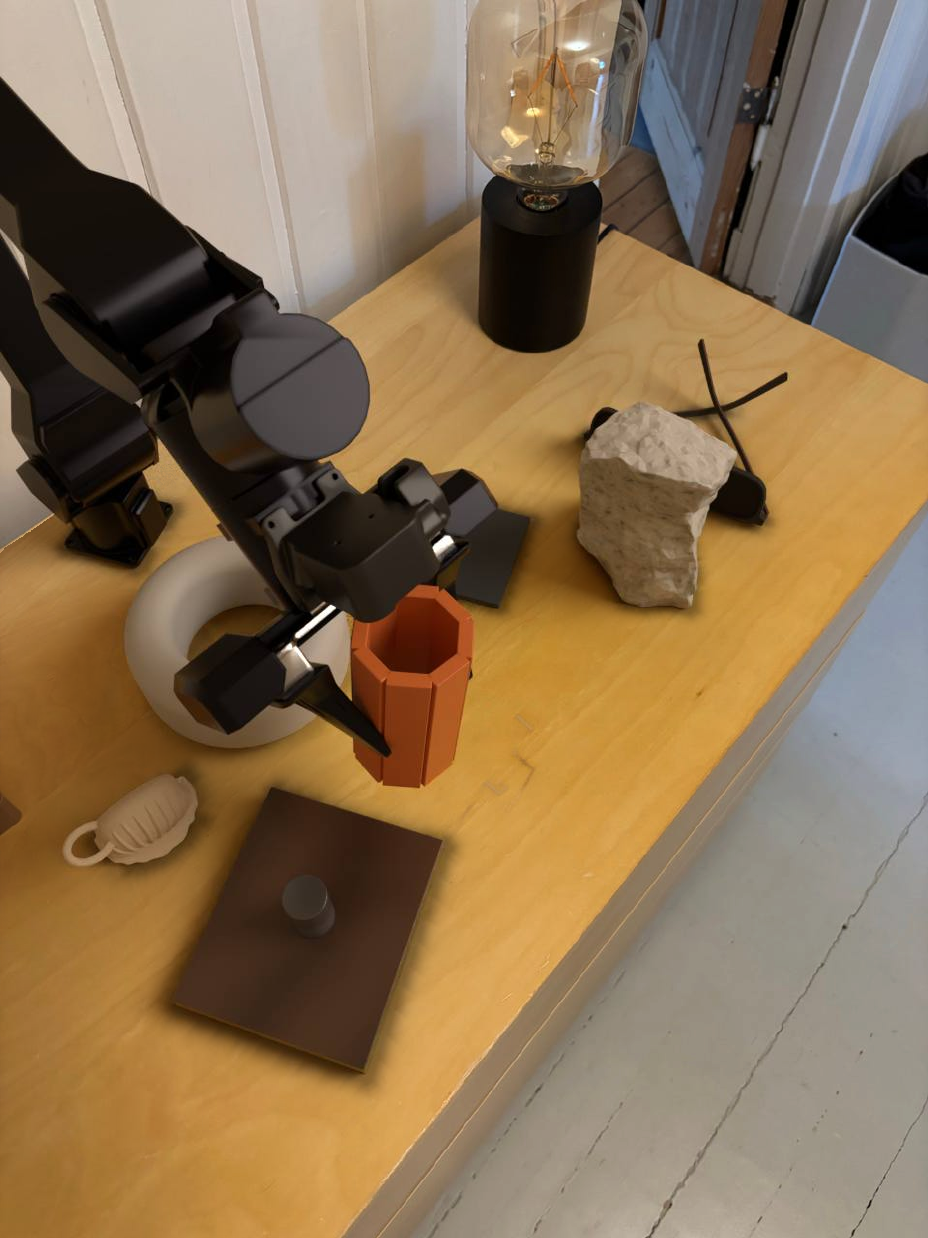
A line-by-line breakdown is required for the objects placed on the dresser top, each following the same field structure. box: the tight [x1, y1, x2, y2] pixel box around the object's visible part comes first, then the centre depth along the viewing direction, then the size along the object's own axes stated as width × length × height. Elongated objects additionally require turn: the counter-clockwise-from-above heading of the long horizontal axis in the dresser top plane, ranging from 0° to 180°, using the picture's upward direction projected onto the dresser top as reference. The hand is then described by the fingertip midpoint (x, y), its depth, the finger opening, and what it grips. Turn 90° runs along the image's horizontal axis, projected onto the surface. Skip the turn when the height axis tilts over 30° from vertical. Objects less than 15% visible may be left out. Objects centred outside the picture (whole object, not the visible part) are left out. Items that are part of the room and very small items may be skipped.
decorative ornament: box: [61, 773, 199, 868], centre depth 59 cm, size 4×8×5 cm, turn 129°
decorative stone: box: [575, 400, 738, 610], centre depth 68 cm, size 10×9×15 cm
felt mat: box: [452, 508, 531, 609], centre depth 74 cm, size 9×9×1 cm
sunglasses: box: [582, 338, 789, 527], centre depth 78 cm, size 17×14×5 cm
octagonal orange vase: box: [349, 585, 475, 789], centre depth 51 cm, size 6×6×12 cm
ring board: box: [171, 786, 445, 1075], centre depth 56 cm, size 12×14×6 cm
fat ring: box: [123, 534, 351, 749], centre depth 66 cm, size 15×15×7 cm
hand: (427, 716), depth 51 cm, fingers closed on octagonal orange vase, 6 cm apart
